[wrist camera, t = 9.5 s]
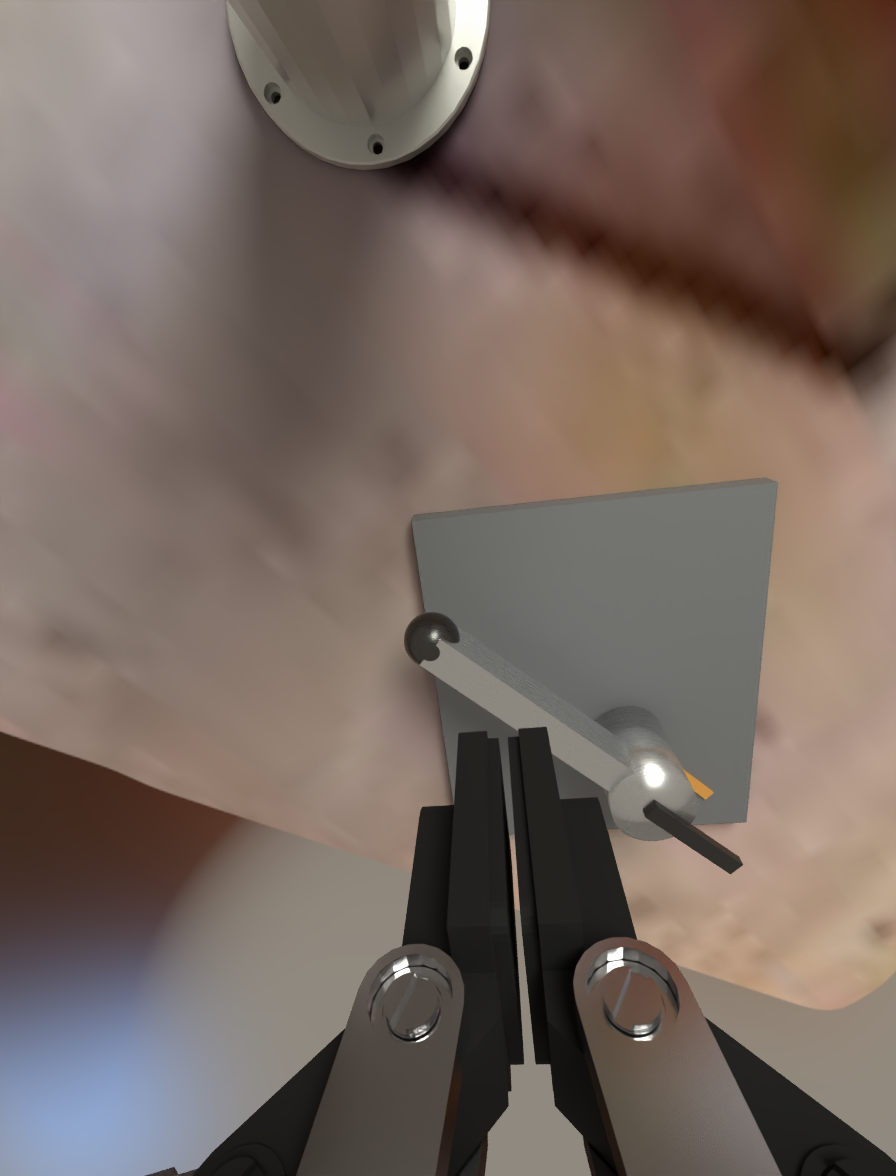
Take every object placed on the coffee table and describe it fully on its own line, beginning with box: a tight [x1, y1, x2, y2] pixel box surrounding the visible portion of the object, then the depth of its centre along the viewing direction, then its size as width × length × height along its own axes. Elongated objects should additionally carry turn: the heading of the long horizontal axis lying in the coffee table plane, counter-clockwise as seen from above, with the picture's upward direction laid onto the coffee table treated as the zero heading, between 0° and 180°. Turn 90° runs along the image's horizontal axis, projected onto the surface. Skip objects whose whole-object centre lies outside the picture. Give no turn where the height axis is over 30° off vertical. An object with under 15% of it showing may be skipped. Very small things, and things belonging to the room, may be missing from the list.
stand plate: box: [412, 478, 778, 834], centre depth 40 cm, size 26×22×2 cm
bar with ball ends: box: [404, 612, 743, 874], centre depth 35 cm, size 25×5×8 cm, turn 53°
